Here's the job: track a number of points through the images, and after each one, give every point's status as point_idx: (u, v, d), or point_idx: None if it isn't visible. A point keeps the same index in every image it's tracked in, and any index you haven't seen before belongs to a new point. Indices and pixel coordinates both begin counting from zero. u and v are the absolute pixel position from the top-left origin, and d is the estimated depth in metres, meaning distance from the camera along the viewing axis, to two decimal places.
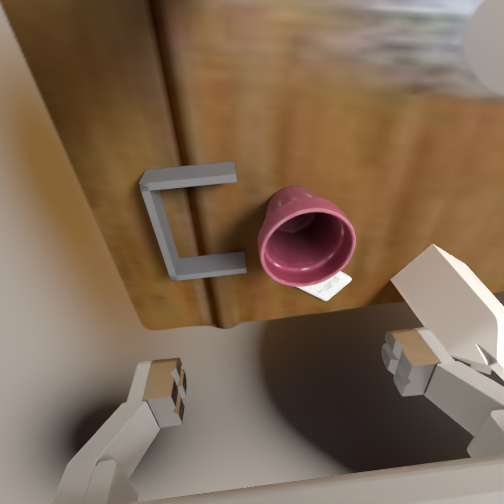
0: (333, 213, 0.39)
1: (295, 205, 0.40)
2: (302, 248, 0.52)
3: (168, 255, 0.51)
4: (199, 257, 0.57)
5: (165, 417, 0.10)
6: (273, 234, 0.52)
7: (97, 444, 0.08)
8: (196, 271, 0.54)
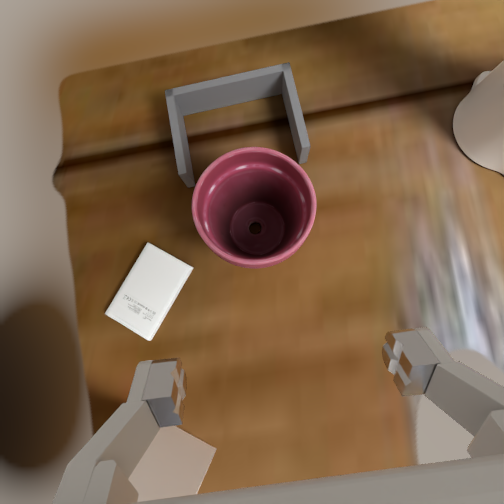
0: (312, 218, 0.33)
1: None
2: (221, 234, 0.40)
3: (203, 87, 0.45)
4: (186, 135, 0.49)
5: (165, 417, 0.10)
6: (232, 204, 0.43)
7: (97, 444, 0.08)
8: (178, 119, 0.45)
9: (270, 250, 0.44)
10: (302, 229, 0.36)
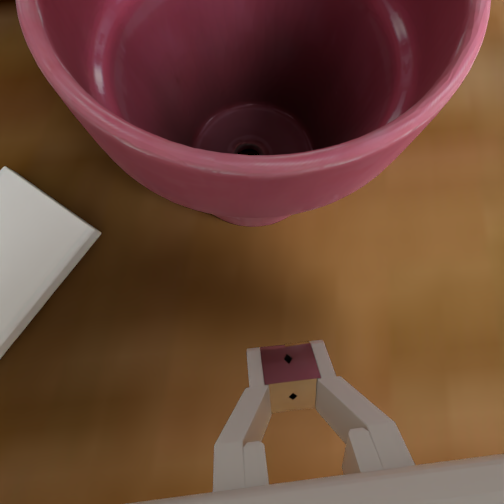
0: (481, 24, 0.08)
1: None
2: None
3: None
4: None
5: (280, 403, 0.10)
6: (201, 91, 0.19)
7: (237, 426, 0.08)
8: None
9: None
10: (400, 111, 0.11)
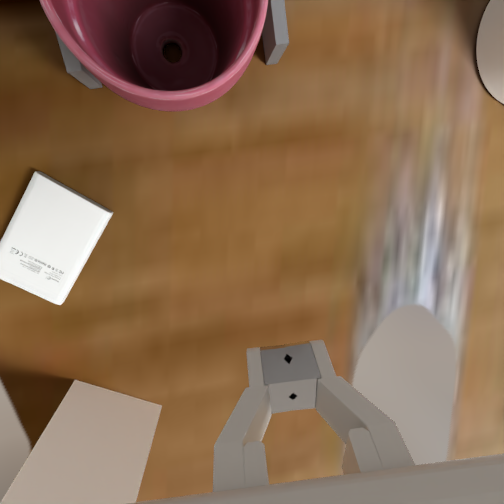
0: (262, 15, 0.19)
1: None
2: (114, 56, 0.25)
3: None
4: None
5: (280, 403, 0.10)
6: None
7: (237, 426, 0.08)
8: None
9: None
10: (245, 43, 0.22)
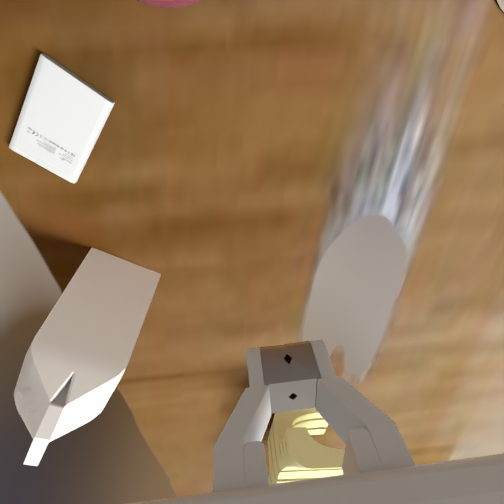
0: None
1: None
2: None
3: None
4: None
5: (280, 402, 0.10)
6: None
7: (237, 426, 0.08)
8: None
9: None
10: None
